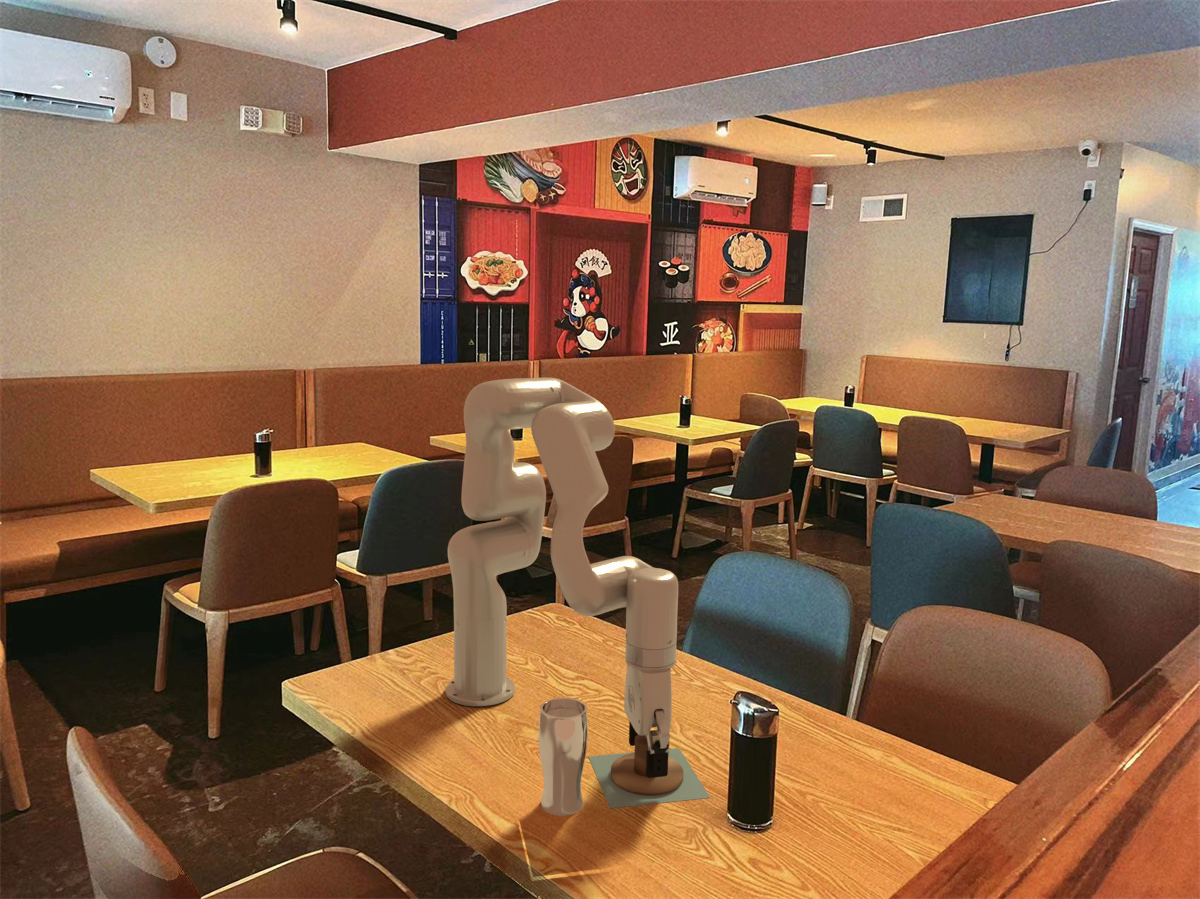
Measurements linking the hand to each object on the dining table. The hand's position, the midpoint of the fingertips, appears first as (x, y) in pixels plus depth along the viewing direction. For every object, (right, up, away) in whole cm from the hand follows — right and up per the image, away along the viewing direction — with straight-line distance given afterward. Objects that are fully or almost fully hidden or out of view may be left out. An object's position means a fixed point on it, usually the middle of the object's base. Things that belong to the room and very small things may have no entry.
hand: (647, 759), depth 135 cm
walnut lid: (0, -3, 0) cm, 3 cm away
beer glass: (-13, -4, -7) cm, 15 cm away
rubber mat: (0, -3, +1) cm, 3 cm away
